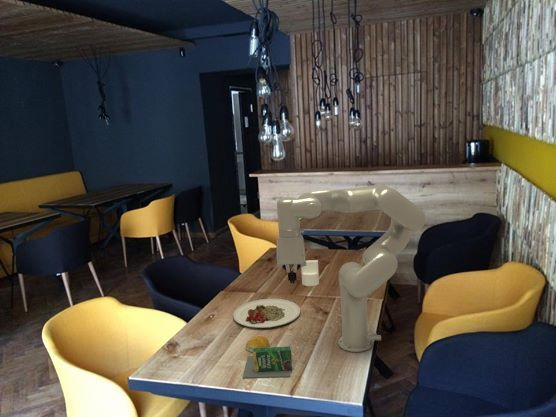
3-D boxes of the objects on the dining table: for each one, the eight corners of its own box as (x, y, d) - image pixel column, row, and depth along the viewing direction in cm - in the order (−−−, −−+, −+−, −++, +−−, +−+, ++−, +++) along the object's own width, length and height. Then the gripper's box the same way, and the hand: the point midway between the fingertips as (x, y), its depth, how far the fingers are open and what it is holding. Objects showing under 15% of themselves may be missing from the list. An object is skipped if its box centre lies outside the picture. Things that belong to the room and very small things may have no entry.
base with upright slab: (319, 279, 237) (318, 258, 235) (319, 285, 228) (317, 263, 226) (302, 280, 238) (301, 258, 236) (301, 286, 229) (300, 264, 227)
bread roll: (273, 345, 170) (272, 335, 170) (259, 355, 163) (258, 345, 163) (256, 340, 175) (255, 330, 174) (241, 350, 168) (241, 340, 167)
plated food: (306, 303, 207) (306, 297, 207) (291, 333, 179) (290, 325, 178) (246, 300, 216) (246, 294, 215) (222, 328, 187) (222, 321, 187)
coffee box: (292, 371, 151) (253, 372, 151) (291, 366, 153) (254, 367, 154) (291, 350, 149) (252, 351, 149) (291, 345, 152) (253, 347, 152)
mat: (291, 355, 161) (291, 354, 161) (290, 377, 147) (290, 376, 147) (247, 356, 162) (247, 355, 162) (242, 378, 149) (242, 377, 148)
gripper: (310, 229, 159) (313, 277, 162) (269, 231, 160) (272, 279, 163) (310, 234, 151) (313, 285, 155) (267, 236, 152) (271, 286, 156)
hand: (292, 282), depth 159 cm, fingers closed
